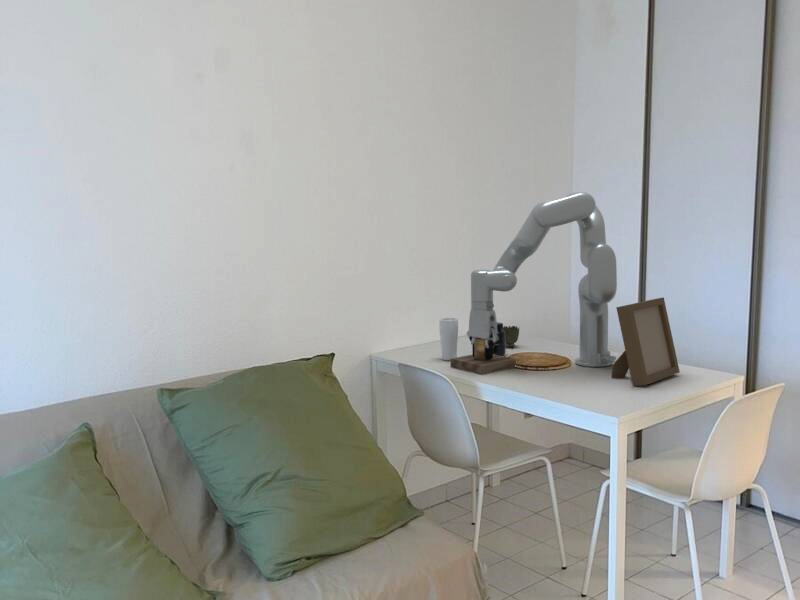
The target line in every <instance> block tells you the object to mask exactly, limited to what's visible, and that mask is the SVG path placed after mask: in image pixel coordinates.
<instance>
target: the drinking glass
mask: <svg viewBox="0 0 800 600" xmlns="http://www.w3.org/2000/svg"><path fill="white" fill-rule="evenodd" d="M458 319H459V318H457V317H442V318H439V336H440V346H441V359H442V360H443V361H450V359H451V358H456V357H457V356H458V355H457V352H458V351H457V350H458V339H459V338H458V337H459V320H458Z"/></svg>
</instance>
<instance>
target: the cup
mask: <svg viewBox="0 0 800 600" xmlns="http://www.w3.org/2000/svg"><path fill="white" fill-rule="evenodd" d="M502 330H504V331H505V333H506V348H509V349H510V348H511V347H512V348H515V346H516V345H515V344H516V343H517V342H518V340H519V336H520V335H519V334H520V327H518V326H516V325H512V326H511V325H509V326H507V325H503V329H502Z"/></svg>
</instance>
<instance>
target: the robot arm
mask: <svg viewBox="0 0 800 600" xmlns="http://www.w3.org/2000/svg"><path fill="white" fill-rule="evenodd" d="M573 222H576V223H577V225H578V230H579V244H580V245H579V247H580V250H579V251H580V253H579V254H580V255H579V257H580V262H581V264H582V265H583V266H584V268H587V273H586V274H585V275H584V276H583V277H581V279H580V280H579V283H578V286H577V287H578V292H577V293H578V300H579V301H578V302H579V357H577V358H575V359H574V363H575V364H576V365H578V366H582V367H590V368H591V367H592V368H600V367H608V366H612V365H613V364H614V363H615V361H616V360H617V357H616V356H615V355H614V356H613V355H611V351H610V350H608V349H609V347H608V345H609V344H608V343H609V305H608V303H610V302H612V300H613V299H614V298H615V297H616V293H617V285H618V283H617V280H618V278H617V275H618V273H617V257H616V253H615V251H614V250H613V248H612V247H611V246H610V245H609V244H607V240H606V239H607V238H606V237H607V236H606V226H605V221H604V217H603V215H602V212H601V211H600V208H599V207H598V206H597V205H596V200H595V198H594V197H593V196H592V195H591V194H590V193H588V192H585V191H584V192H583V191H581V192H580V191H576V192H571V193H569V194H566V196H565V197H563V198H559V199H555V200H551V201H541V202H539V203H537V204H536V205H535V206H534V207H532V210H531V211H530V213H529V214H528V217H527V218H526V219H525V221H524V223H523V224H522V225H521V228H520V229H519V231H518V232H517V234H516V236H515V237H514V238H513V240H512V241H511V242H510V244H509V245H508V247H507V248H506V249H505V250H504V252H503V254H502V255H501V256H500V258H499V260H498V261H497V263H496V264H495V266H494V268H493V269H492V270H490V269H476V270H473V271H471V273H470V299H471V300H470V304H471V306H470V307H471V309H470V311H469V321H468V330H467V332H466V335H467V337H468V339H469V342H470V344H471V346H472V351H471V352H472V354H473V356H474V357H475V355H474V338H480V339H484V340H485V344H486V348H485V359H491V358H493V347H494V345H495V344H496V342H497V341H498V340H499V337H498V336H497V322H498V321H497V320H498V319H497V315H496V310H495V309H494V306H495V305H494V291H496V292H497V291H498V292H510V291H512V290H513V289H515V287H516V285H517V284H518V278H517V276H516V273H517V272H518V270H519V268H520V266H522V264H523V263H524V262H525V260H526V259H528V258H529V257H531V256H533V255H534V254H535V253H536V252H537V250H538V249H539V247H540V246H541V244H542V242H543V241H544V239H545V237H546V236H547V234H548V233H549V232H550V229H551V228H555V227H558V226H559V227H560V226H563V225H567V224H570V223H573ZM488 340H490V342H488Z"/></svg>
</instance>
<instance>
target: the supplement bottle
mask: <svg viewBox="0 0 800 600" xmlns="http://www.w3.org/2000/svg"><path fill="white" fill-rule="evenodd" d="M503 327H504V323H502V322H499V321H497V336H498V337H499V340H498V341H497V342H496V344H495V345H494V347H493V354H495V355H500V356H504V357H505V355H506V348H507V347H506V333H505V331H504V330H502V329H503Z"/></svg>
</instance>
